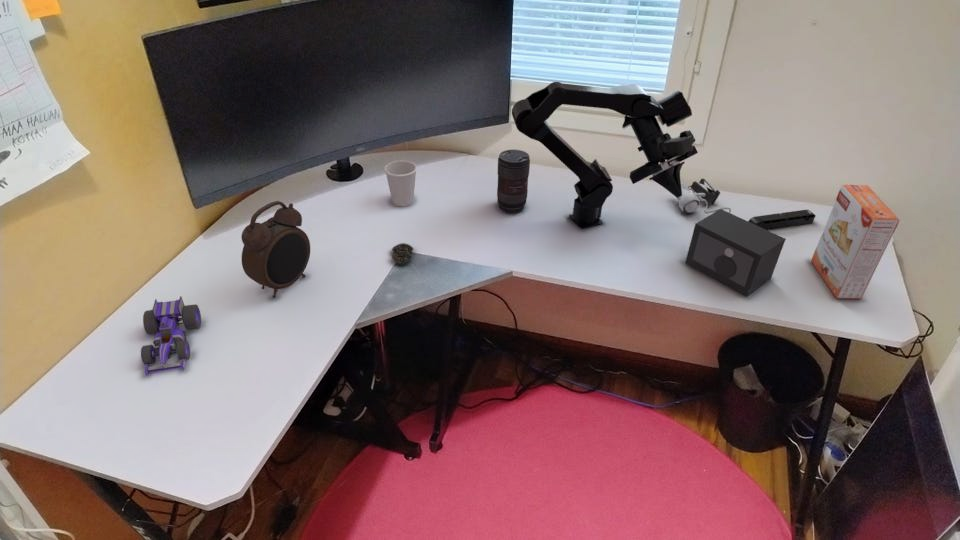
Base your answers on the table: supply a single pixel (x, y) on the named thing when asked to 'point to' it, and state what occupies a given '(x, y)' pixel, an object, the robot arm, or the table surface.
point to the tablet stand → (783, 219)
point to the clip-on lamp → (702, 190)
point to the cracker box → (853, 241)
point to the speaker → (734, 251)
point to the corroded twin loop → (402, 253)
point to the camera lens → (512, 180)
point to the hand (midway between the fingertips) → (679, 196)
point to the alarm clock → (275, 248)
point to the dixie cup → (401, 181)
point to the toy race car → (168, 333)
